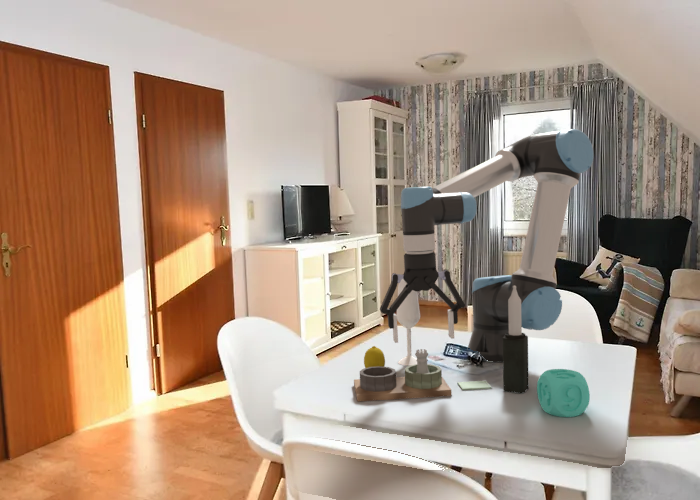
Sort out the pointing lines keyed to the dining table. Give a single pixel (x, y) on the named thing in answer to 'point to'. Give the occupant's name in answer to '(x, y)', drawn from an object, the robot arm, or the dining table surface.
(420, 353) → the rook chess piece
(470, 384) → the card
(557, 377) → the decorative dice
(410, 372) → the double bowl stand
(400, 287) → the champagne flute
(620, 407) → the dining table surface
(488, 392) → the dining table surface
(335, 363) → the dining table surface
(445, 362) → the dining table surface
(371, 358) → the lemon
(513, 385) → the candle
